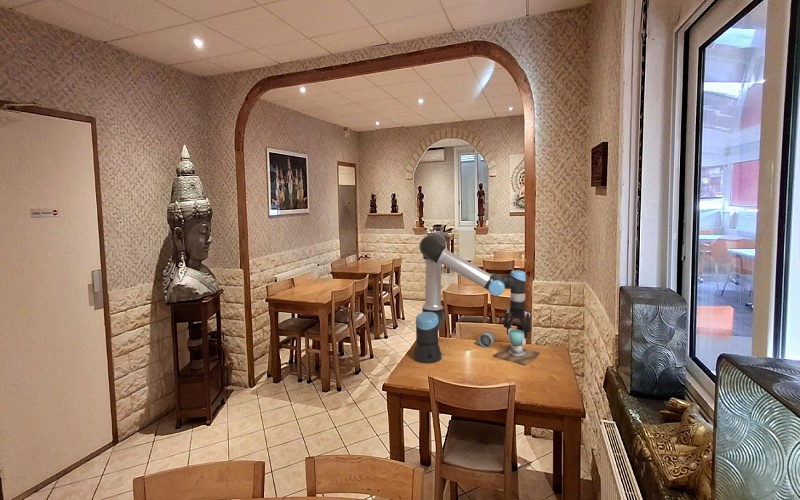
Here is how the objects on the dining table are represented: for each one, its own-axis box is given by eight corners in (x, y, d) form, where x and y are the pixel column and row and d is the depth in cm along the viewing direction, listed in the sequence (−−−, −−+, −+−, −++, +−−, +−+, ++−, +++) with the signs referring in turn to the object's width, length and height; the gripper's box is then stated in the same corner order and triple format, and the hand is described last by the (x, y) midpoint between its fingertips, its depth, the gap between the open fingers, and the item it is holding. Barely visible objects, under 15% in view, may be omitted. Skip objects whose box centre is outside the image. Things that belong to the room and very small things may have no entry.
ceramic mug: (495, 344, 239) (495, 331, 238) (491, 348, 232) (491, 335, 231) (478, 341, 244) (478, 328, 243) (473, 345, 237) (473, 332, 236)
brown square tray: (493, 357, 220) (493, 344, 219) (508, 347, 234) (509, 335, 233) (525, 365, 209) (525, 352, 208) (539, 354, 222) (540, 342, 221)
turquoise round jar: (507, 343, 220) (507, 330, 219) (513, 339, 225) (513, 327, 224) (520, 346, 215) (520, 333, 214) (526, 342, 221) (526, 329, 220)
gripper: (496, 298, 221) (496, 340, 224) (533, 304, 208) (532, 348, 211) (503, 295, 226) (502, 336, 230) (539, 301, 213) (538, 344, 217)
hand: (516, 342), depth 220 cm, fingers closed on turquoise round jar, 7 cm apart
